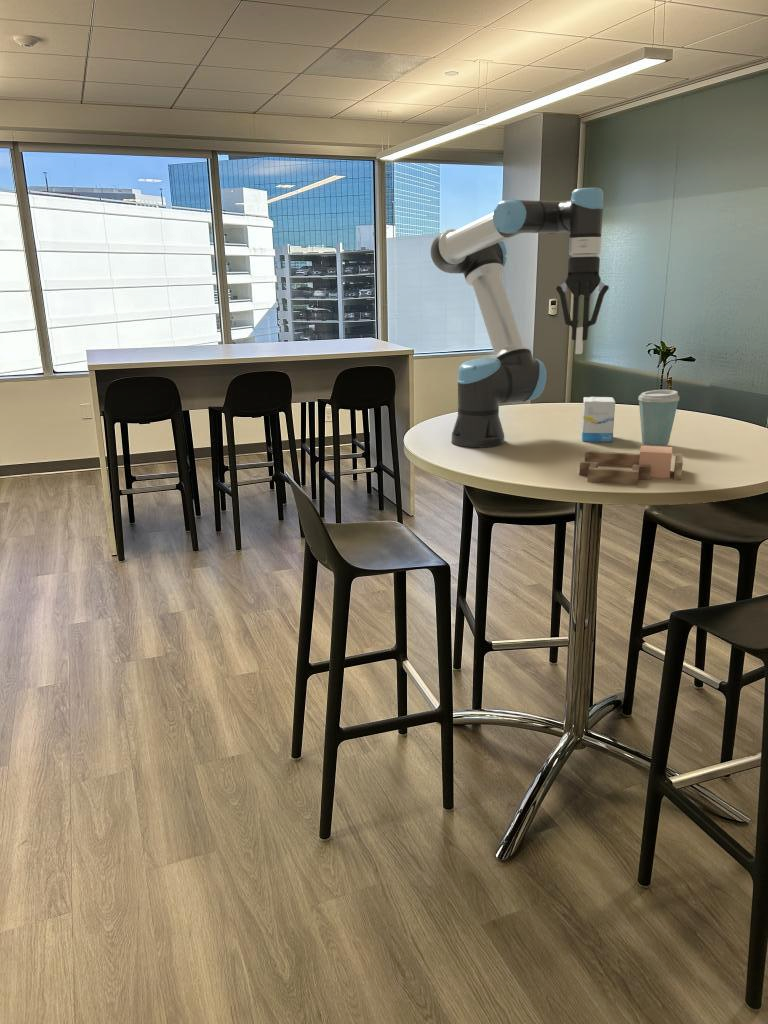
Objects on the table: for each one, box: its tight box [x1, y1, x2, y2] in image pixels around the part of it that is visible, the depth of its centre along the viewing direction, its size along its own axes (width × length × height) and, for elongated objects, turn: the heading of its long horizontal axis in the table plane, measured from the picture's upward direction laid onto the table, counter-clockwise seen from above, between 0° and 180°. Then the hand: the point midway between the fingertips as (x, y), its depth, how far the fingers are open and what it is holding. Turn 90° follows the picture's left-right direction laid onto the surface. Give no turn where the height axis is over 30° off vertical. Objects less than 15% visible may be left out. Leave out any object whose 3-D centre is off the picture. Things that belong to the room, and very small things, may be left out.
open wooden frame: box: [578, 450, 684, 486], centre depth 178 cm, size 23×18×4 cm
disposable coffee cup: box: [637, 389, 680, 447], centre depth 205 cm, size 11×11×15 cm
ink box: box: [580, 396, 616, 443], centre depth 215 cm, size 8×8×12 cm
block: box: [639, 445, 673, 479], centre depth 178 cm, size 7×7×6 cm
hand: (578, 353), depth 192 cm, fingers closed
